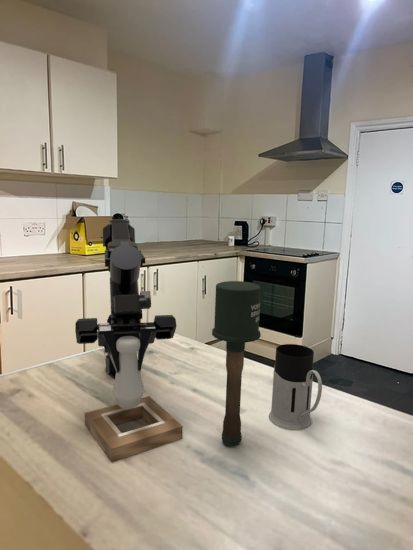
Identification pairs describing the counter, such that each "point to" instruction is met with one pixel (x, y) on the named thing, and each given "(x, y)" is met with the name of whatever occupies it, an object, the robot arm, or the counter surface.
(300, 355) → the glass holder
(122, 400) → the salt shaker
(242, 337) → the potato masher grenade
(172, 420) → the socket board
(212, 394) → the counter surface
